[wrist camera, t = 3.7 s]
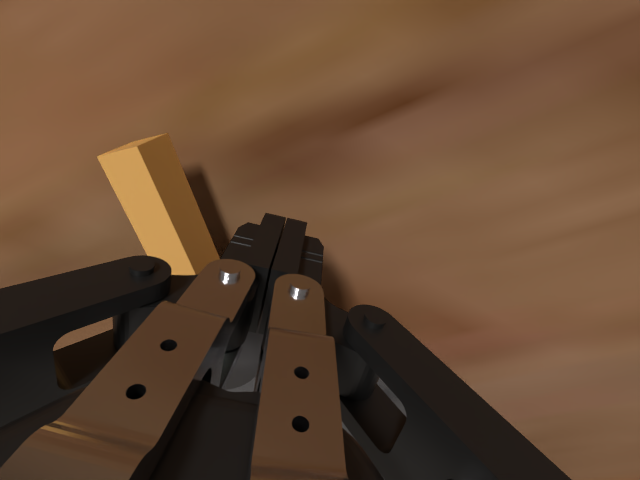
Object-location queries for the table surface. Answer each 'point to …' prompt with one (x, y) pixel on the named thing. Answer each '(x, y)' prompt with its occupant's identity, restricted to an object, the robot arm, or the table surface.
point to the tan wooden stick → (169, 220)
